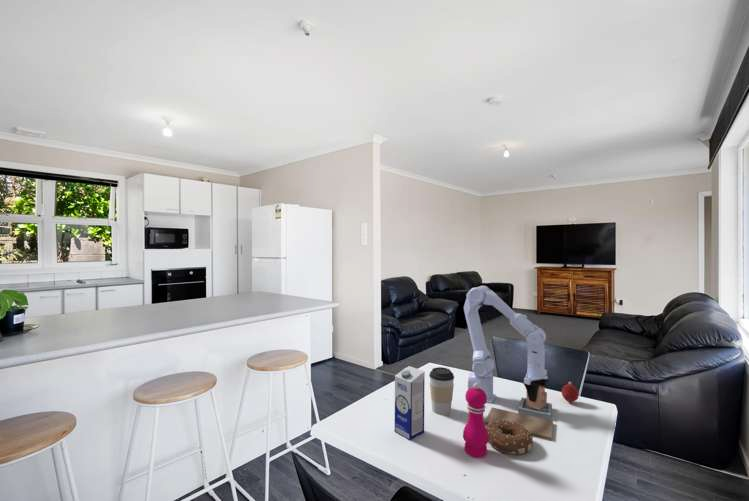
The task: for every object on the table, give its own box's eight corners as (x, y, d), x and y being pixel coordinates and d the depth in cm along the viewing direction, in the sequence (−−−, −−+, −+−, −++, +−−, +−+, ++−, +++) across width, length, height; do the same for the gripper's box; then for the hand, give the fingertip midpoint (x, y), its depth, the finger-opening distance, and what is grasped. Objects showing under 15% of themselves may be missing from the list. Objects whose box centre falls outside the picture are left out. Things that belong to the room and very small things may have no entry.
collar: (518, 413, 125) (518, 408, 125) (521, 402, 134) (521, 397, 134) (550, 420, 120) (550, 415, 120) (552, 408, 129) (552, 403, 129)
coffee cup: (452, 405, 131) (452, 365, 131) (455, 416, 122) (456, 374, 122) (428, 404, 132) (428, 364, 132) (429, 415, 123) (430, 373, 123)
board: (484, 424, 117) (484, 421, 117) (491, 409, 128) (491, 407, 128) (551, 440, 107) (551, 437, 107) (553, 423, 118) (553, 420, 118)
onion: (577, 407, 130) (577, 386, 130) (560, 403, 134) (560, 382, 134) (579, 402, 135) (579, 381, 135) (562, 398, 138) (563, 378, 138)
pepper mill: (469, 441, 107) (469, 376, 106) (492, 450, 102) (493, 382, 102) (458, 452, 101) (459, 383, 101) (482, 462, 96) (483, 390, 96)
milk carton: (424, 433, 111) (425, 370, 111) (410, 440, 107) (410, 375, 107) (408, 424, 117) (408, 365, 117) (394, 431, 112) (394, 369, 112)
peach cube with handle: (526, 405, 128) (526, 386, 127) (532, 401, 131) (532, 383, 131) (543, 411, 123) (543, 391, 123) (548, 407, 126) (549, 388, 126)
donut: (497, 428, 115) (497, 412, 115) (540, 444, 105) (540, 428, 105) (475, 444, 105) (475, 428, 105) (520, 465, 96) (520, 446, 95)
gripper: (538, 369, 119) (537, 408, 120) (555, 360, 129) (555, 397, 129) (518, 364, 125) (518, 401, 125) (536, 356, 134) (535, 391, 134)
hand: (535, 399), depth 127 cm, fingers closed on peach cube with handle, 5 cm apart
